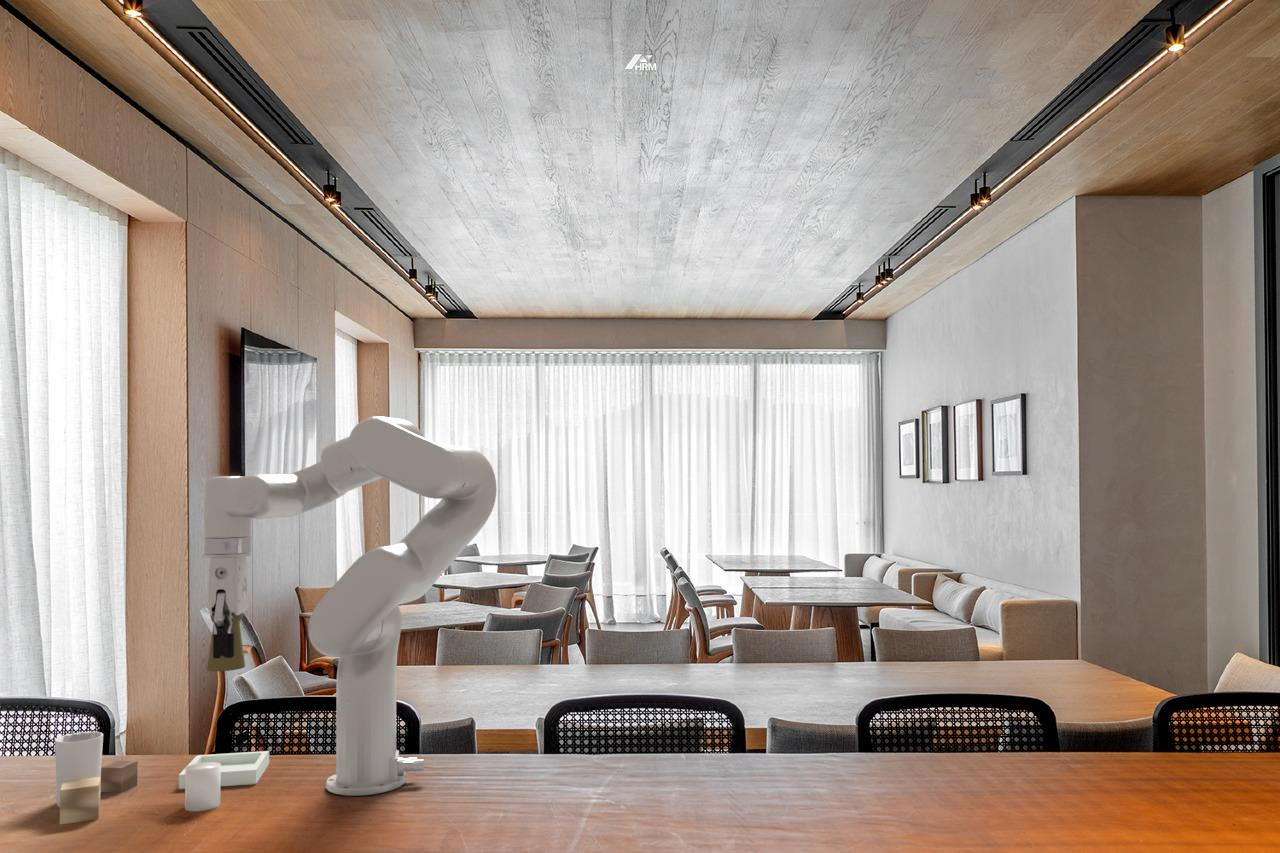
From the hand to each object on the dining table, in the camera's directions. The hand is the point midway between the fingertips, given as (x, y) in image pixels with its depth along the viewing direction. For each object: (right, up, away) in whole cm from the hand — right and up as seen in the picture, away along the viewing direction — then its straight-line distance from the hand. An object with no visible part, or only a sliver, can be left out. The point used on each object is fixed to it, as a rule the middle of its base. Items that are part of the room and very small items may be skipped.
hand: (226, 654), depth 170 cm
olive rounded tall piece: (0, -3, 0) cm, 3 cm away
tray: (0, -21, -1) cm, 20 cm away
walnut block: (-15, -21, -7) cm, 26 cm away
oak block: (-13, -20, -21) cm, 32 cm away
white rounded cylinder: (+3, -20, -17) cm, 26 cm away
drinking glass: (-18, -20, -14) cm, 30 cm away
